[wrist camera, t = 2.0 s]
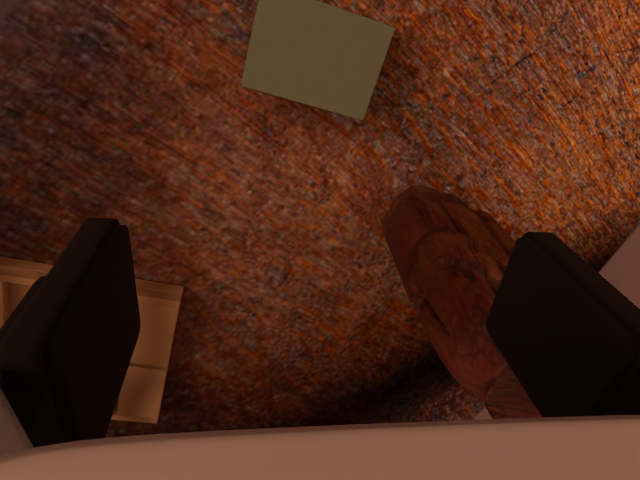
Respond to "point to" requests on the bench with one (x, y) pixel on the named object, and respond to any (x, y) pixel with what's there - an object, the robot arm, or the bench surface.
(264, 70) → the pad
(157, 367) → the frame
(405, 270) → the wooden figurine
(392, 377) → the bench surface
